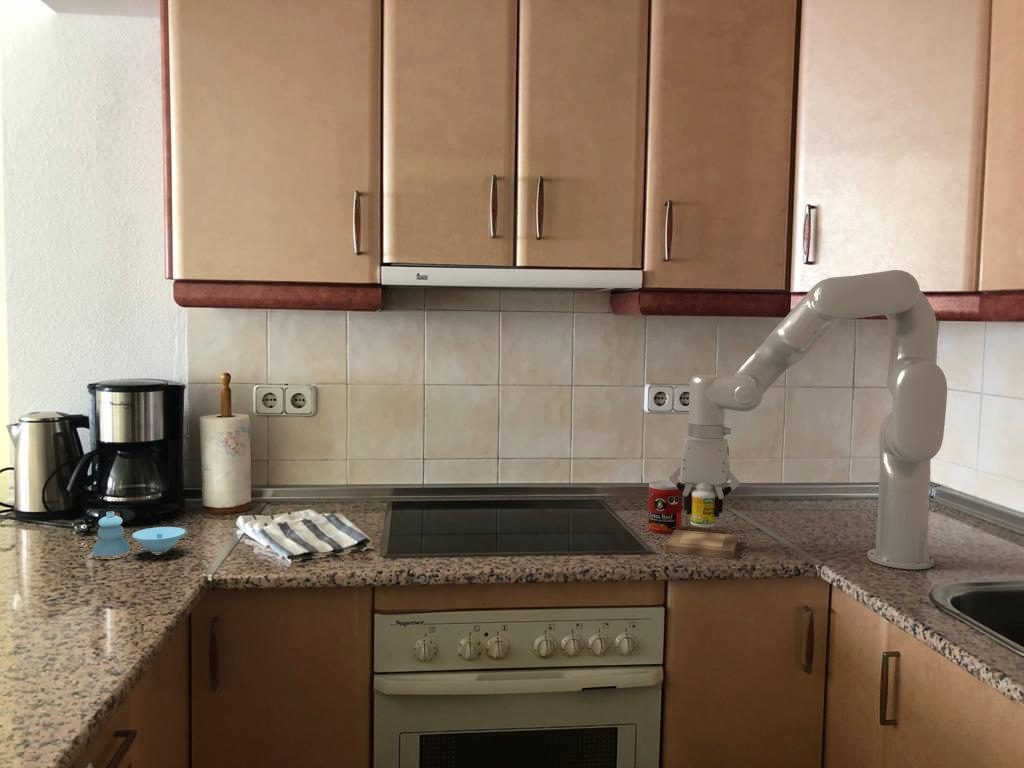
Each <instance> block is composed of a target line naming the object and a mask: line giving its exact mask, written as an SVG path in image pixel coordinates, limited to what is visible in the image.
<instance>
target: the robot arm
mask: <svg viewBox="0 0 1024 768" xmlns="http://www.w3.org/2000/svg"><path fill="white" fill-rule="evenodd" d="M878 316H885V317H886V319H887V321H888V323H889V326H890V350H889V359H888V370H887V371H888V372H887V375H886V376H887V377H886V386H887V389H888V392H889V393H890V395H892V396H893V397H892V398H893V400H892V411H891V413H889V414H888V415H887V416H886V417H885V418H884V420H883V421H882V423H881V425H880V429H879V434H878V435H879V437H878V440H879V441H878V442H879V443H878V446H879V478H878V479H879V480H878V494H877V495H878V496H877V497H878V498H877V515H876V516H877V519H876V538H875V540H876V541H875V548H873V549H869V550H868V551H867V558H868V560H869V561H871V562H872V563H875V564H877V565H880V566H885V567H889V568H893V569H901V570H926V569H930V568H932V567H933V566H934V564H935V557H936V558H937V557H938V558H943V559H952V556H953V551H952V548H945V547H943V546H939V545H938V546H937V545H936V546H935V545H931V544H930V543H929V541H928V538H927V537H928V523H929V522H928V520H929V519H928V518H929V500H930V486H931V459H933V458H935V456H937V454H938V453H939V451H940V450H941V448H942V445H943V440H944V434H945V425H946V415H947V414H946V412H947V401H948V382H947V378H946V375H945V373H944V372H943V371H944V370H942V368H941V367H940V366H939V365H937V364H936V363H937V358H936V357H937V340H938V339H937V337H938V336H937V334H938V333H937V332H938V331H937V330H938V329H937V318H936V314H935V311H934V309H933V306H932V305H931V303H930V301H929V299H928V298H927V296H926V295H925V294H924V292H922V290H921V289H920V285H919V282H918V280H917V279H916V277H915V276H913V274H911V273H909V272H908V271H904V270H900V269H894V270H884V271H877V272H869V273H862V274H857V275H854V274H853V275H846V276H834V277H828V278H824V279H822V280H820V281H819V282H817V283H816V284H815V285H813V287H811V289H810V290H809V291H808V292H807V293H806V294H805V295H804V296H803V298H801V300H800V301H799V302H798V303H797V304H796V305H795V306H794V307H793V308H792V309H791V310H790V312H789V313H788V314H787V315H786V316H785V317H784V318H783V320H781V322H779V324H777V326H776V327H775V328H773V330H772V332H770V333H769V335H768V336H767V338H766V339H765V340H764V341H763V342H762V344H761V345H760V346H759V347H758V348H757V350H755V352H753V354H751V356H750V357H749V358H748V359H747V360H746V362H745V363H744V364H743V365H742V366H741V367H740V368H739V369H738V370H737V371H736V372H735V373H734V375H733V376H731V377H724V376H721V375H717V374H696V375H693V376H692V377H691V378H690V381H689V383H690V384H689V397H688V398H689V399H688V403H689V405H688V406H689V407H688V408H689V409H688V427H687V429H688V430H687V431H688V433H687V434H688V435H687V436H684V441H683V446H682V451H681V459H680V466H679V467H678V468H677V469H676V470H675V471H674V472H673V473H672V474H671V475H670V476H669V480H668V481H671V482H672V483H673V484H674V485H676V486H677V488H678V489H679V490H680V491H681V492H682V496H684V498H683V499H684V501H683V510H686V515H689V516H690V515H691V493H692V491H691V490H692V488H693V485H695V484H699V483H705V484H709V485H714V488H715V492H716V501H715V518H719V516H720V514H723V511H724V510H723V509H724V498H726V496H727V495H728V494H730V493H731V492H732V491H733V490H735V489H736V488H737V487H739V486H740V484H741V482H740V480H739V479H738V478H737V476H736V475H735V474H734V472H733V471H732V470H731V469H730V449H729V441H728V439H727V438H726V437H725V436H727V435H731V433H732V428H730V427H727V426H726V425H725V415H726V411H725V410H730V411H731V410H732V411H735V412H744V413H746V412H751V411H754V410H756V409H758V407H759V406H760V405H761V403H762V401H763V398H764V394H765V392H767V390H769V388H770V387H771V386H772V385H773V384H774V383H775V382H776V381H777V380H778V378H780V377H781V376H782V375H783V374H784V373H785V372H786V371H787V370H788V369H790V368H791V367H792V366H794V365H797V363H799V362H801V361H802V360H803V359H804V358H805V357H807V355H809V354H810V352H812V350H813V349H814V348H815V347H816V346H817V345H818V344H819V343H820V342H821V340H823V338H824V337H825V336H826V335H827V334H828V333H829V332H830V331H831V330H832V329H833V328H834V326H835V325H836V324H838V322H839V321H840V320H848V319H849V320H851V319H860V318H869V317H878ZM679 477H680V479H679ZM729 480H730V482H731V483H729V484H728V485H727V483H728V481H729ZM684 483H685V484H684ZM724 485H727V486H726V487H723V486H724Z"/></svg>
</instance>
